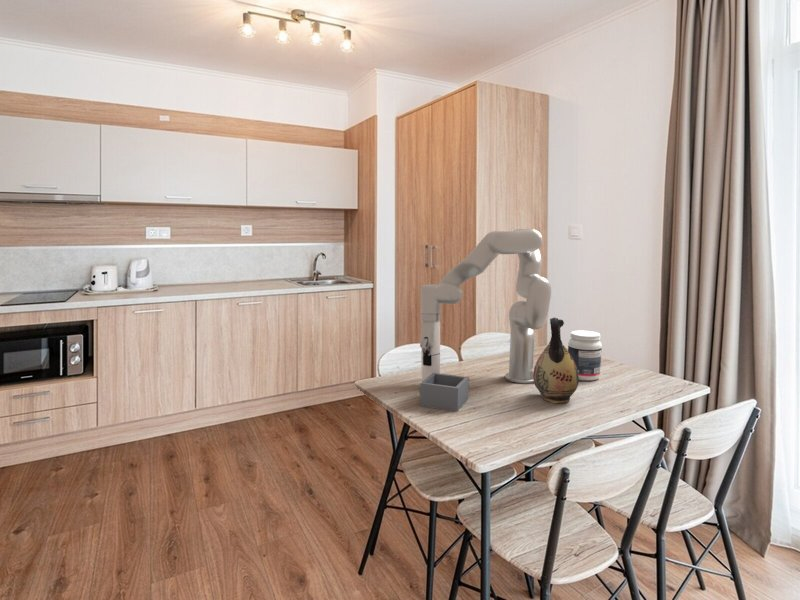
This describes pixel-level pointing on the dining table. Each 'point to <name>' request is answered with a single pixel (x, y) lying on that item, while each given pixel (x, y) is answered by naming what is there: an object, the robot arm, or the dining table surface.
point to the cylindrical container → (433, 354)
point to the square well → (444, 391)
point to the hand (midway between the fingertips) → (430, 362)
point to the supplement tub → (586, 353)
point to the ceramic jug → (556, 369)
